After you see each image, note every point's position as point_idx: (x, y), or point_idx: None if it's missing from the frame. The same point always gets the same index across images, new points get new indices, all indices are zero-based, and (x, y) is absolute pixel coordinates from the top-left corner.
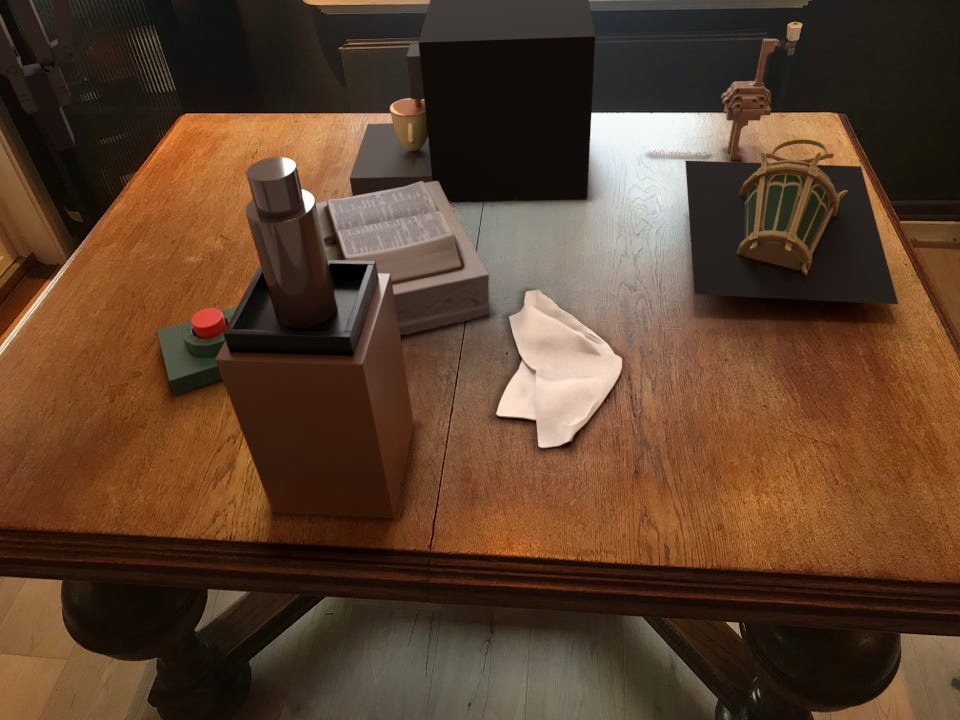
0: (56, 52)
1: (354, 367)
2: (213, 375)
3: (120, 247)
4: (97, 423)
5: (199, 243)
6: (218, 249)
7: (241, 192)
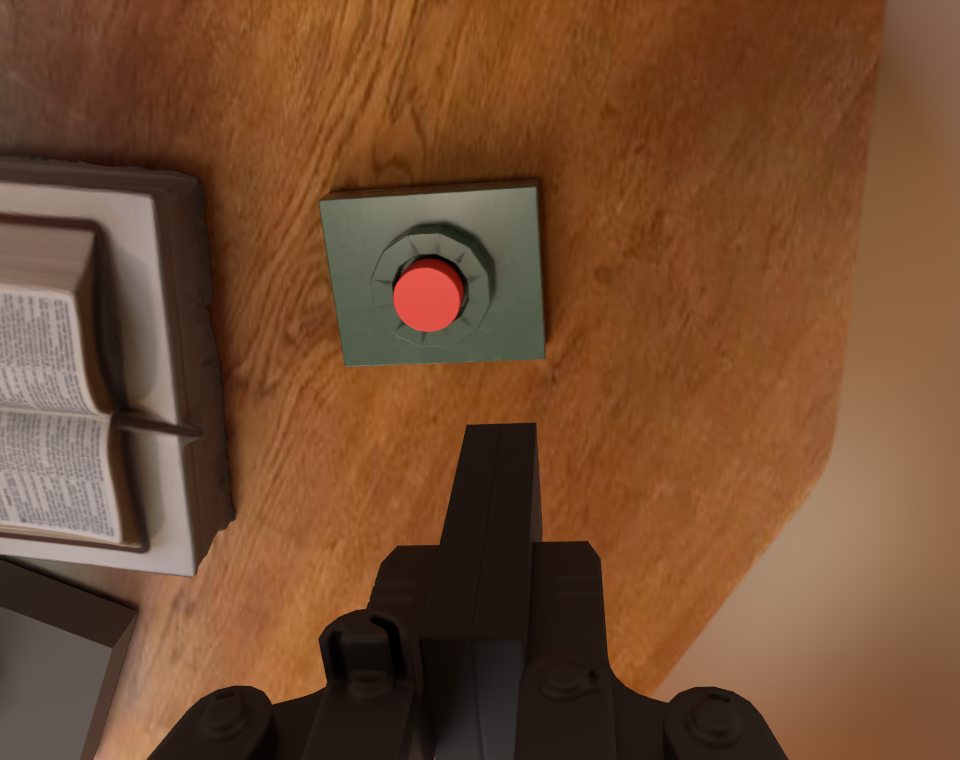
0: (298, 738)
1: None
2: (453, 187)
3: None
4: (694, 159)
5: None
6: None
7: None
